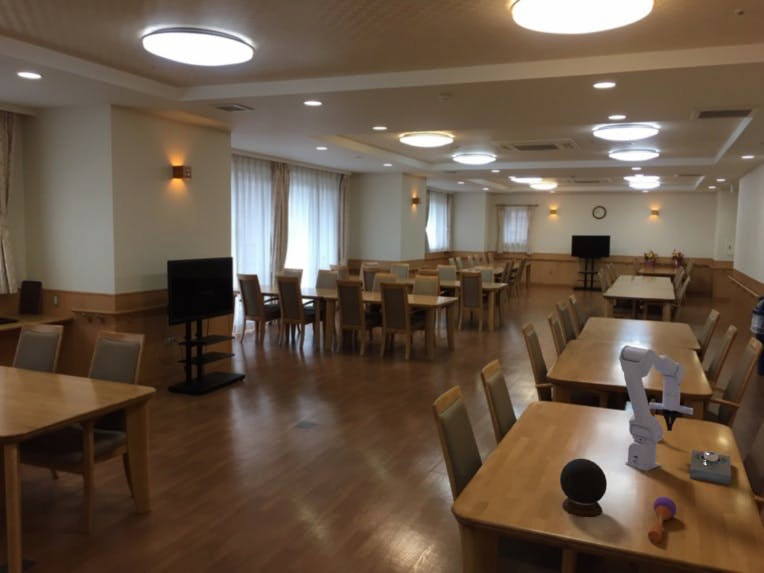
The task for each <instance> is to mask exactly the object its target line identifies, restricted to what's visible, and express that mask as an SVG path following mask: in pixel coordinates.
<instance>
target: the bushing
mask: <svg viewBox="0 0 764 573" xmlns="http://www.w3.org/2000/svg"><path fill="white" fill-rule="evenodd" d="M703 452H704V460H707V461H711V462H718V454H719V453H718V452H715V451H712V450H711V451H710V450H705V451H703Z"/></svg>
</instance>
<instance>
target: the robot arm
mask: <svg viewBox="0 0 764 573" xmlns="http://www.w3.org/2000/svg"><path fill="white" fill-rule="evenodd" d="M618 360H619V363H620V367H621V371H622V373H623V377H624V382H625V385H626V388H627V393H628V397H629V401H630V404H631V408H632V412H633V415H632V416H631V417H630V418H629V421H628V424H629V426H628V430H629V434H630V436H631V438H632V439H633V442H631V444H630V445H629V446H628V449H627V450H628V451H627V461H626V462H625V465H628V466H630V467H634V468H636V469H639V470H642V471H644V472H647V471H649V470H652V469H655V468H657V467H660V466H661V465H662V464H661V463H659V462H656V460H657V459H656V458H657V457H656V456H657V443H658V442H661V441H660V440H661V438H663V435H664V430H663V427H662V425H661V424H660V421H659V420H658V419H657V418H656V417H653V416H652V415H651V413H650V409H656V410H660V411H661V410H662V411H661V414H662V416H663V418H664V422H665V425H666V429H667V430H666V431H668V432H672V430H673V426H674V423H675V421H676V419H677V418H678V416H679V414H680V413H681V414H688V415H693V414H694V408H693V407H688V406H684V405H681V404H680V402H681V390H682V388H681V387H682V385H681V384H682V383H683V380H684V377H685V373H686V369H685V366H684V365H683V364H682V363H680V362H676V361H675V360H674V359H672V358H669V355H667V354H661V355H658V354H657V353H656V351H655V350H653V349H650V348H648V349H647V348H642V347H635V346H630V345H628V344H626V345H624V346H623V347H622V348H621V350H620V352H619V356H618ZM652 367H653V368H654V369H655V370H657V371H658V372H660V375H661V376H662V377H663V384H662V385H663V387H662V401H661V402H662V403H661V402H656V403H651V401H649V402H648V397H647V393H646V390H645V386H644V381H643V378H646V377H648V374H649V373H650V371H651V370H652Z"/></svg>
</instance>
